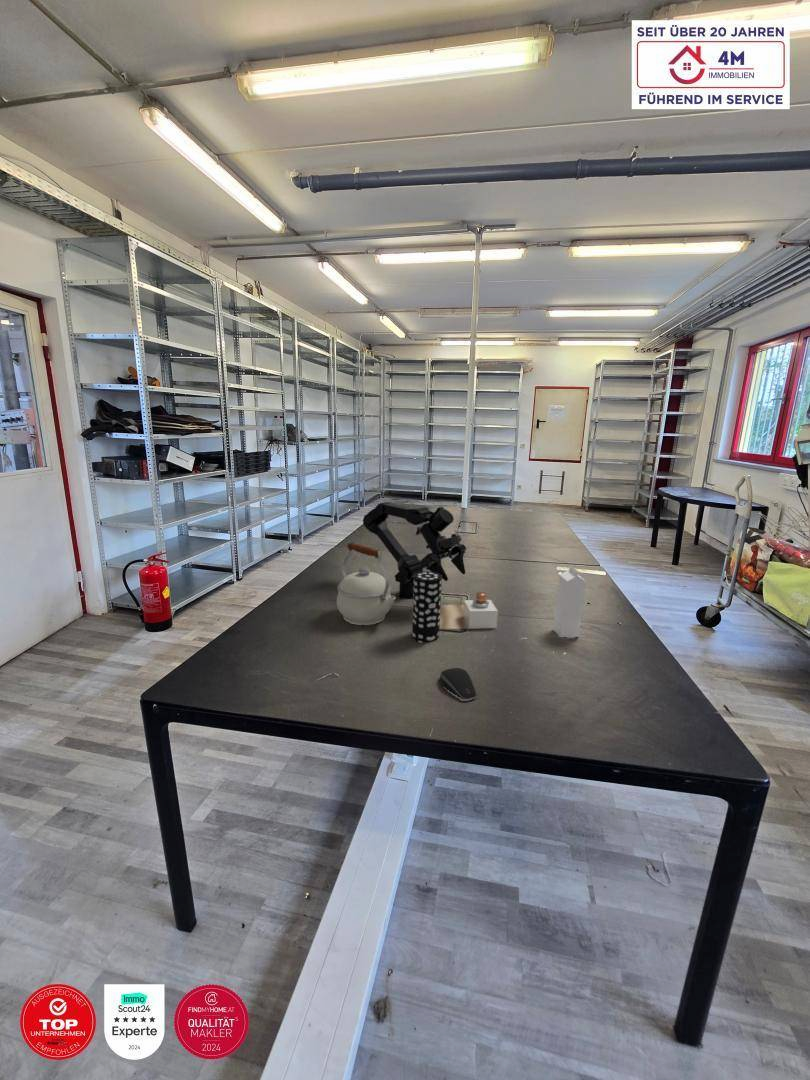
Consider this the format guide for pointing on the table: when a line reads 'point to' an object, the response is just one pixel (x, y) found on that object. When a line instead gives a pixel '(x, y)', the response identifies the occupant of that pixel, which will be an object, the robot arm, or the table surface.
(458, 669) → the computer mouse
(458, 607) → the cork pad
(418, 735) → the table surface
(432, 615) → the white-spotted black cylinder
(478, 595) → the plunger
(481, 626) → the white square block
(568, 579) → the milk
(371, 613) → the kettle
